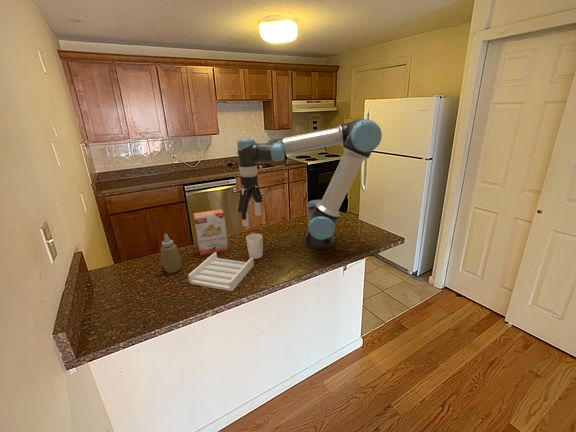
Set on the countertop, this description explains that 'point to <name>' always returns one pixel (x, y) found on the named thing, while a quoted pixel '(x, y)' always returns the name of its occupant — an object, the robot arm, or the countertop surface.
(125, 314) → the countertop surface
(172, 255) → the squeeze bottle
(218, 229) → the cracker box
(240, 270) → the drying rack
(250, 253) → the white cup
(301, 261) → the countertop surface
